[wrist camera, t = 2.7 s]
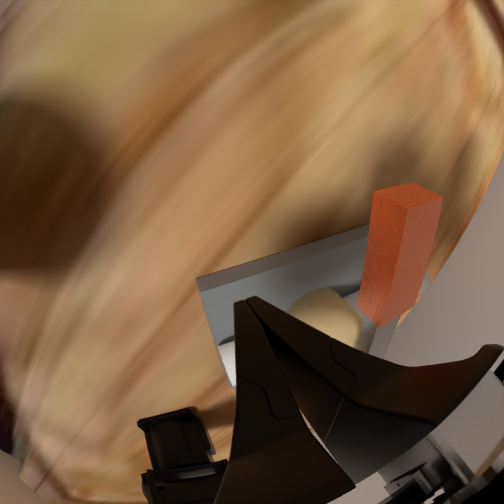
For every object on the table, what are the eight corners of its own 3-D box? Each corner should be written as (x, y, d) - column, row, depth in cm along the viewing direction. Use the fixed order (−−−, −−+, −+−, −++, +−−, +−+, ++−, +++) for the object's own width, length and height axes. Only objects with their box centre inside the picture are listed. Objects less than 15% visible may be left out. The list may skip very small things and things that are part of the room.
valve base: (225, 375, 24) (255, 441, 18) (195, 278, 18) (231, 368, 12) (387, 303, 30) (429, 343, 24) (408, 211, 23) (469, 248, 17)
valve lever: (364, 369, 18) (378, 385, 17) (336, 384, 17) (349, 403, 16) (412, 182, 10) (443, 197, 9) (372, 191, 10) (407, 209, 8)
